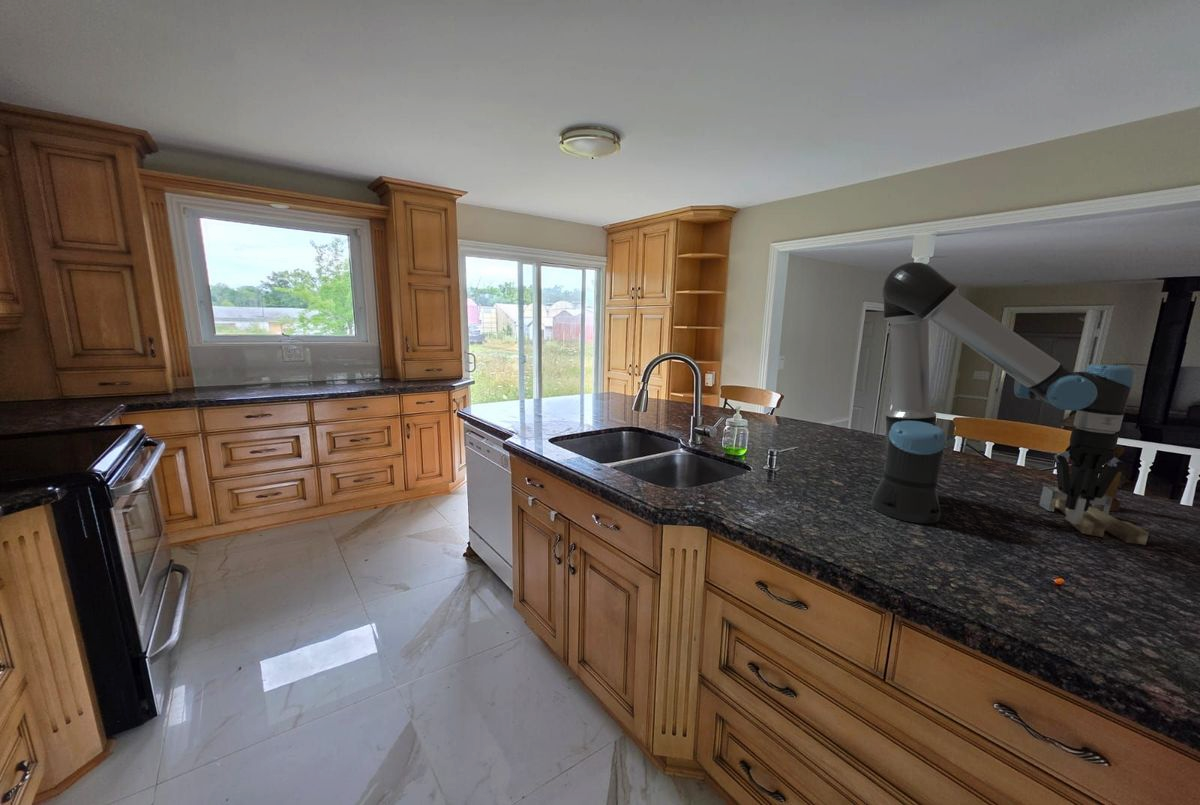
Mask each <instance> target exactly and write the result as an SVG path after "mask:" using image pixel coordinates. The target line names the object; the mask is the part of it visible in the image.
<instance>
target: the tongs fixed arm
mask: <svg viewBox="0 0 1200 805" xmlns="http://www.w3.org/2000/svg"><path fill="white" fill-rule="evenodd" d="M1087 512H1088V513H1090V514H1091V515H1092V516H1094V517H1095V518H1096V519H1098V520H1099V521H1101V522H1102V523H1103V524H1105V525H1106V527H1105V531H1106V532H1108V533H1110V534H1111V535H1113V536H1114V537H1117V538H1119V539H1120V540H1122V541H1124V542H1125V543H1129V544H1137V545H1139V544H1140V545H1145V546H1146V545H1147V543H1148V542H1147V541H1148V537H1149V534H1150V532H1148V531H1147V530H1145V529H1142V528H1141V527H1139V526H1137V525H1135V524H1134V523H1131V522H1129V521H1124V520H1119V519H1117V518H1116V517H1113V516H1111V514H1106V513H1104V512H1102V511H1100V510H1098V509H1097V508H1095V507H1093V506H1091V505H1089V507H1088V510H1087Z"/></svg>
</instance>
